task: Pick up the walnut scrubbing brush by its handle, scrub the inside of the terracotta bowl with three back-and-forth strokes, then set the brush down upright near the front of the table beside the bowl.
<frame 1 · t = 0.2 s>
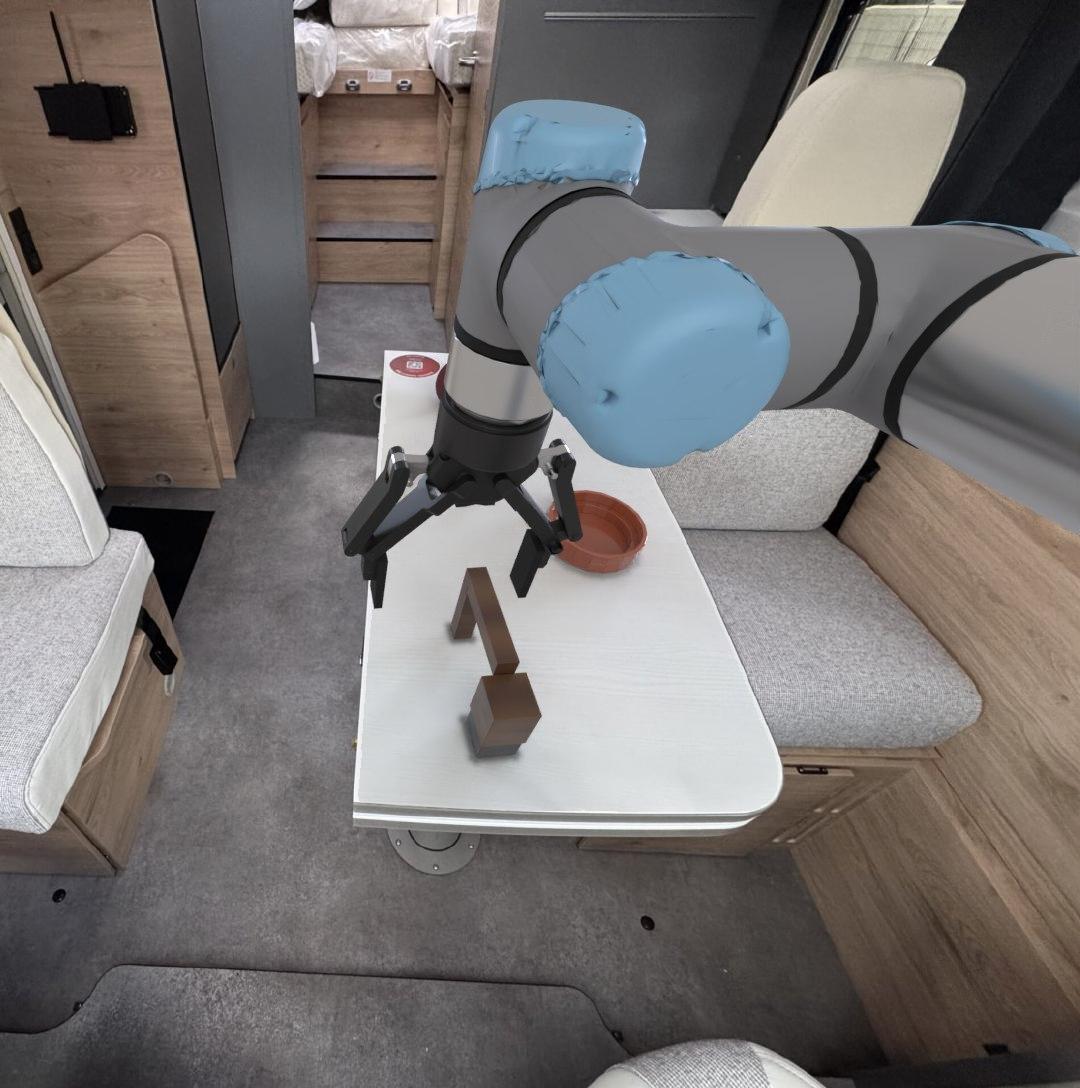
hand: (447, 591, 54), 21 cm above the table, tool pointing down, fingers open, 13 cm apart
decorative ball: (457, 408, 112), on the table
toy car: (457, 480, 97), on the table
bowl: (588, 540, 89), on the table
brush: (490, 737, 66), on the table
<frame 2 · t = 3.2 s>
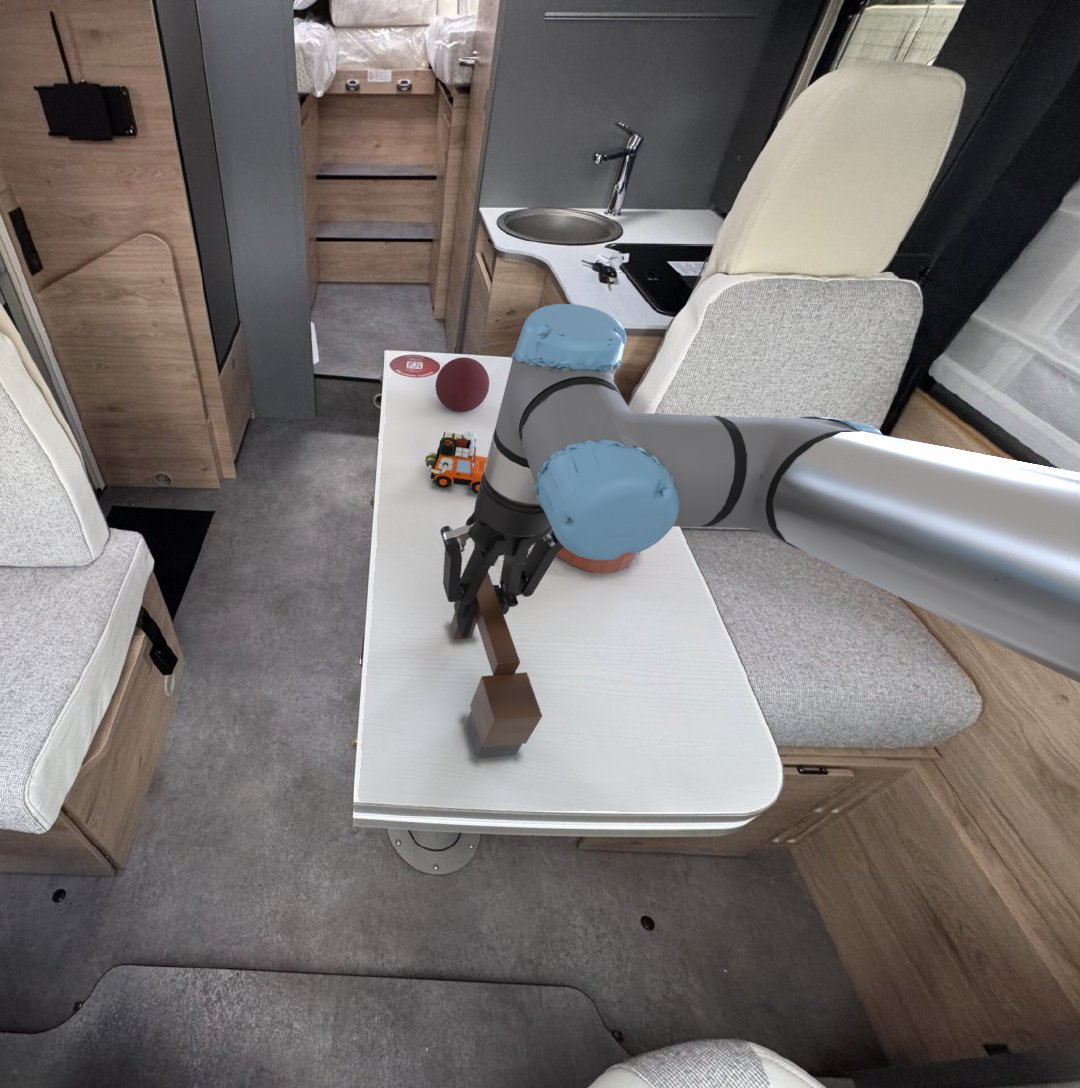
hand: (474, 627, 70), 6 cm above the table, tool pointing down, fingers closed on brush, 2 cm apart
brush: (490, 737, 66), on the table, touching gripper
everything else where it was.
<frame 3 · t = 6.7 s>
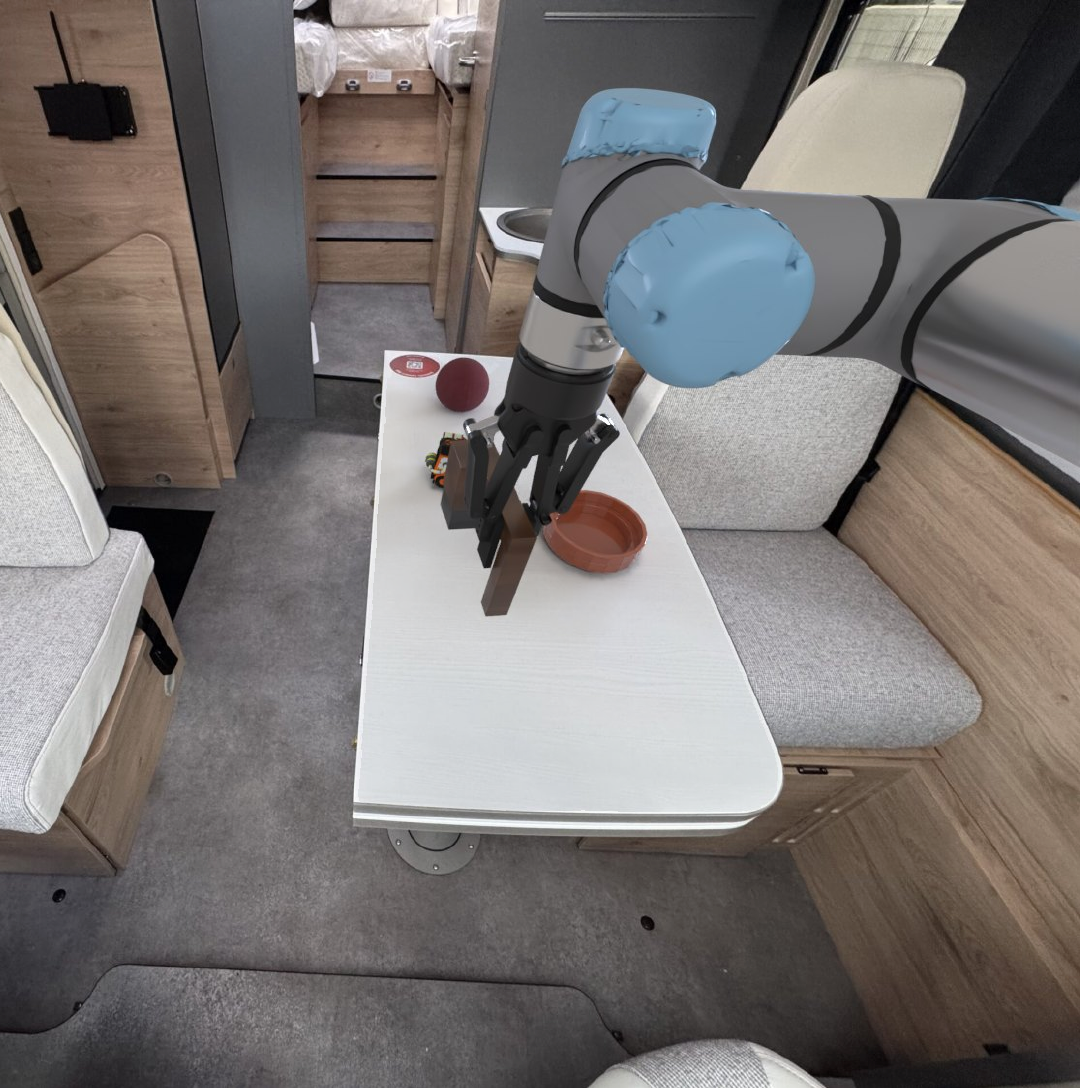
hand: (498, 557, 60), 18 cm above the table, tool pointing down, fingers closed on brush, 2 cm apart
brush: (461, 516, 72), point 13 cm above the table, touching gripper
everything else where it was.
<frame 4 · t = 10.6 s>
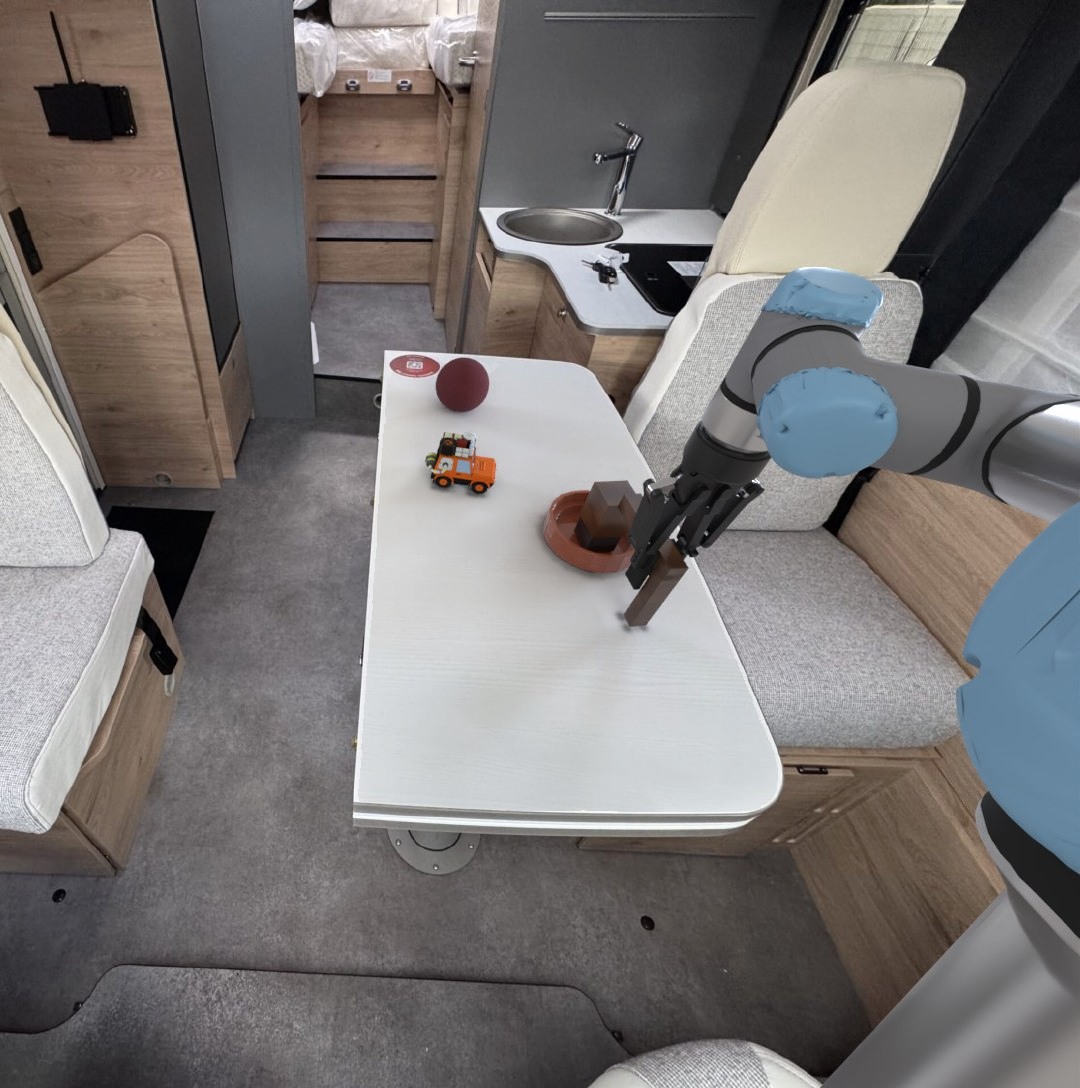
hand: (643, 580, 75), 6 cm above the table, tool pointing down, fingers closed on brush, 2 cm apart
brush: (593, 541, 87), point 1 cm above the table, touching gripper
everything else where it was.
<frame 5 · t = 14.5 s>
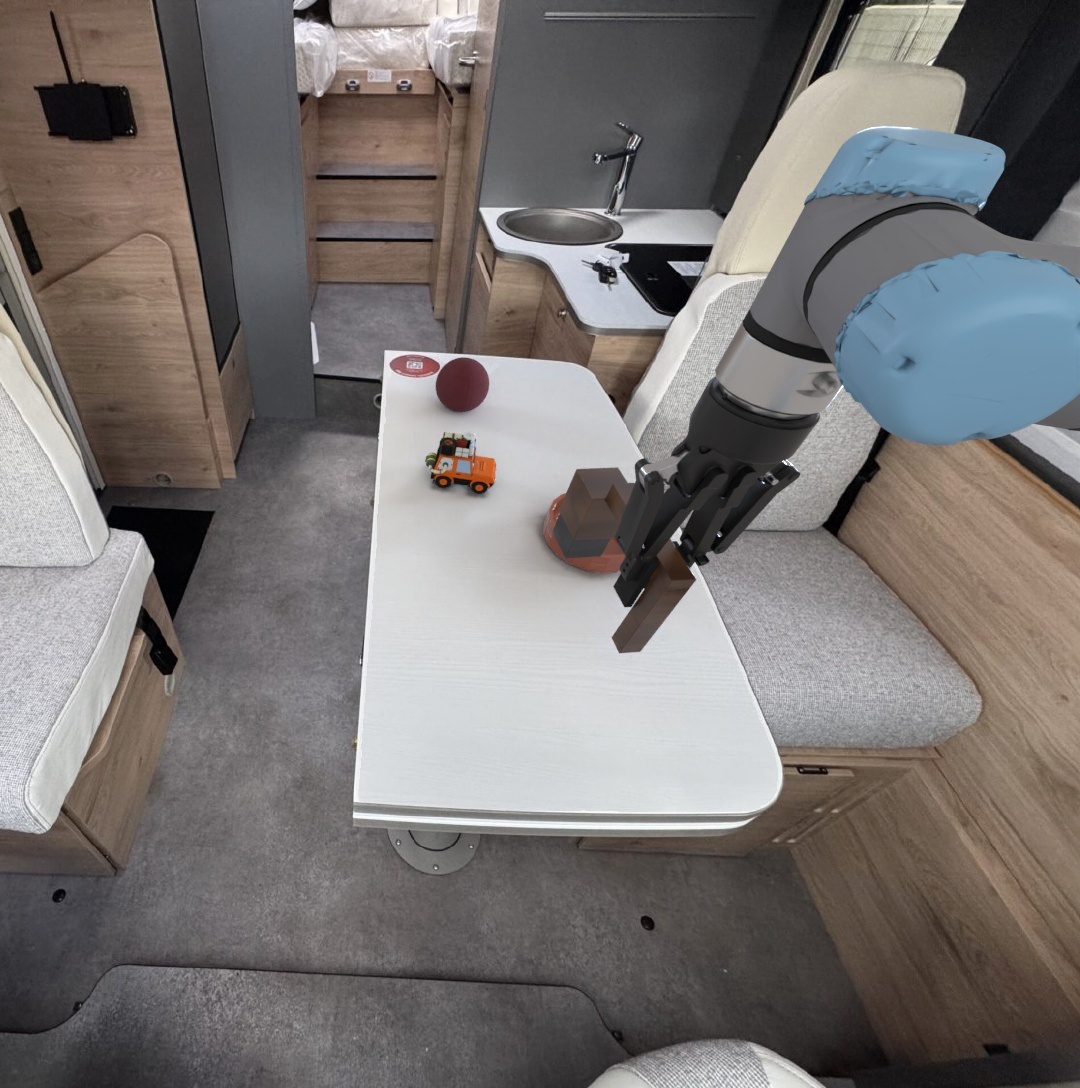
hand: (636, 595, 58), 18 cm above the table, tool pointing down, fingers closed on brush, 2 cm apart
brush: (576, 543, 70), point 13 cm above the table, touching gripper
everything else where it was.
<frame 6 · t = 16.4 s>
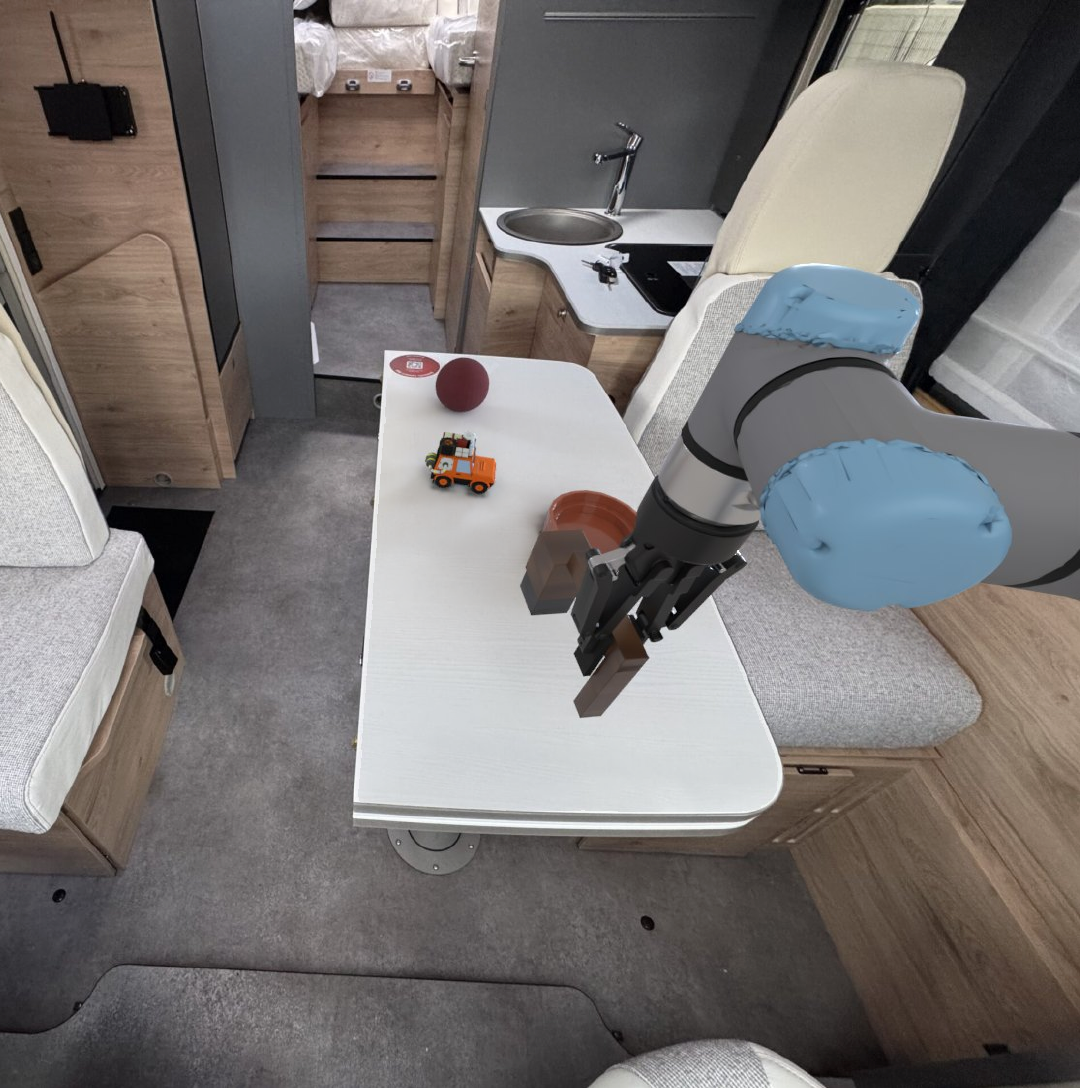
hand: (596, 663, 59), 12 cm above the table, tool pointing down, fingers closed on brush, 2 cm apart
brush: (542, 599, 71), point 7 cm above the table, touching gripper
everything else where it was.
when the fingers open (5 cm above the table, at t = 18.1 s): brush stays where it is, on the table.
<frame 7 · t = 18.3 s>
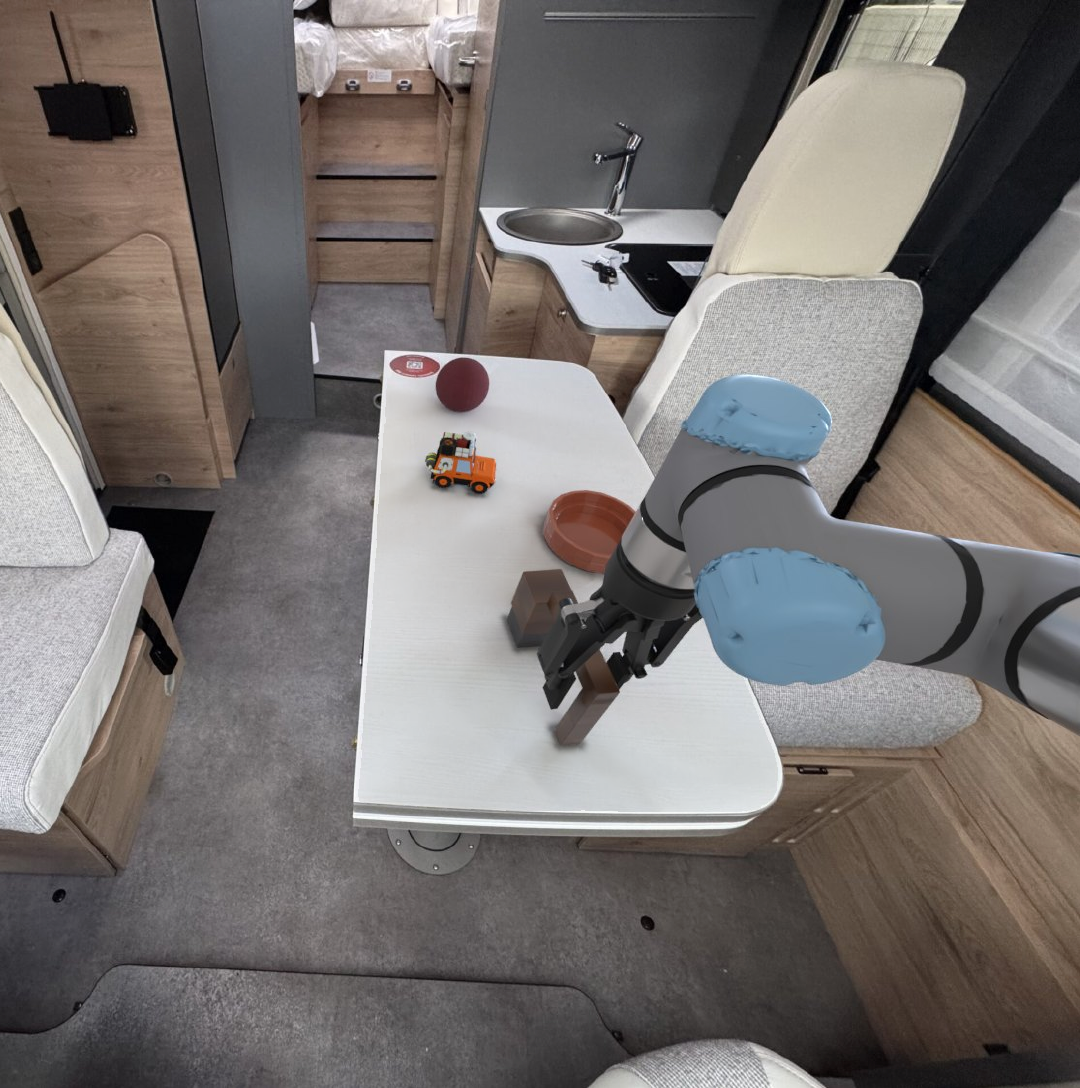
hand: (575, 695, 64), 6 cm above the table, tool pointing down, fingers open, 5 cm apart
brush: (527, 632, 76), on the table
everything else where it was.
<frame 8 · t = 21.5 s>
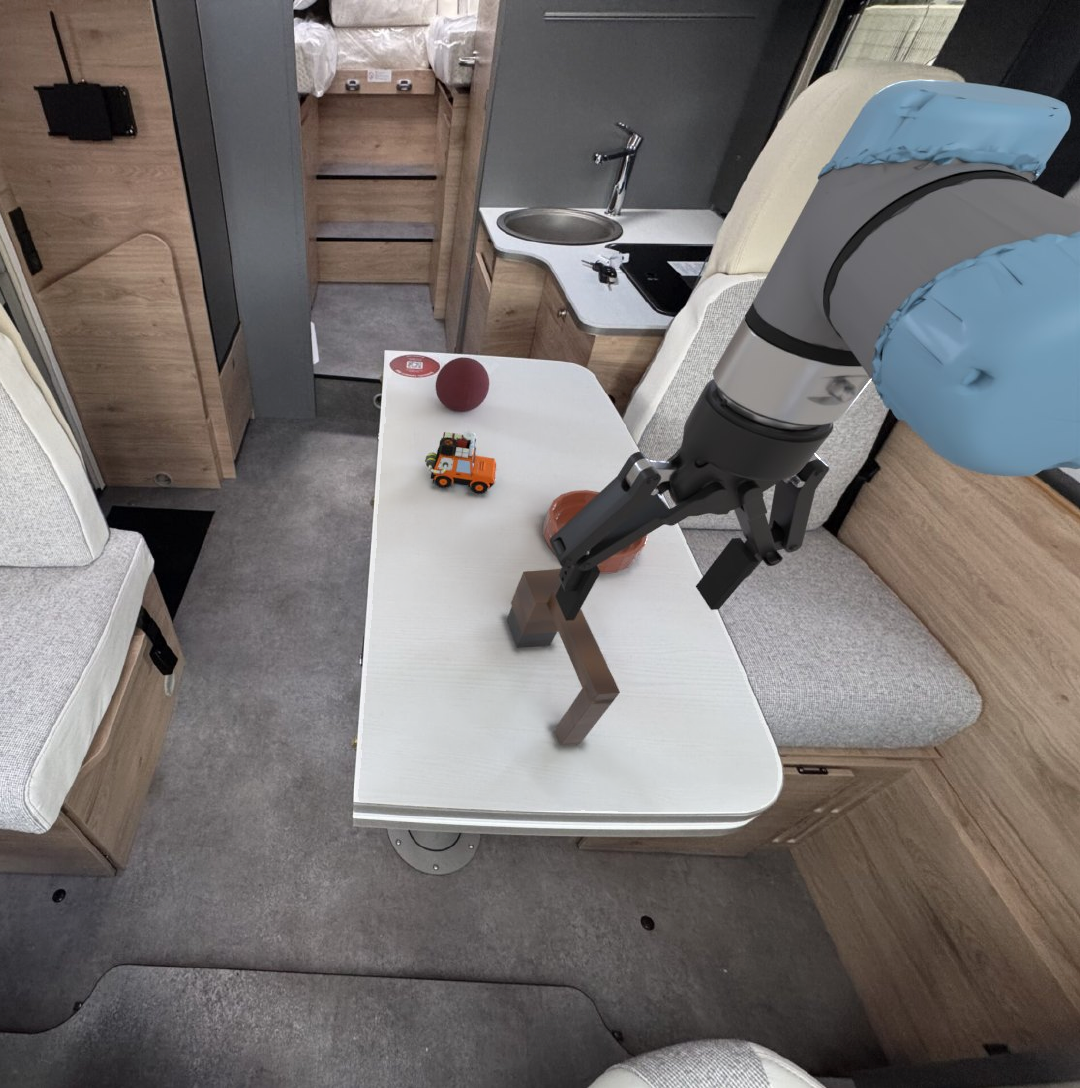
hand: (636, 603, 52), 23 cm above the table, tool pointing down, fingers open, 13 cm apart
nothing on the table moved.
at the end: brush inside the target area on the table beside the bowl (0.7 cm from its centre), on the table; brush tilted 0°; the gripper is holding nothing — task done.
